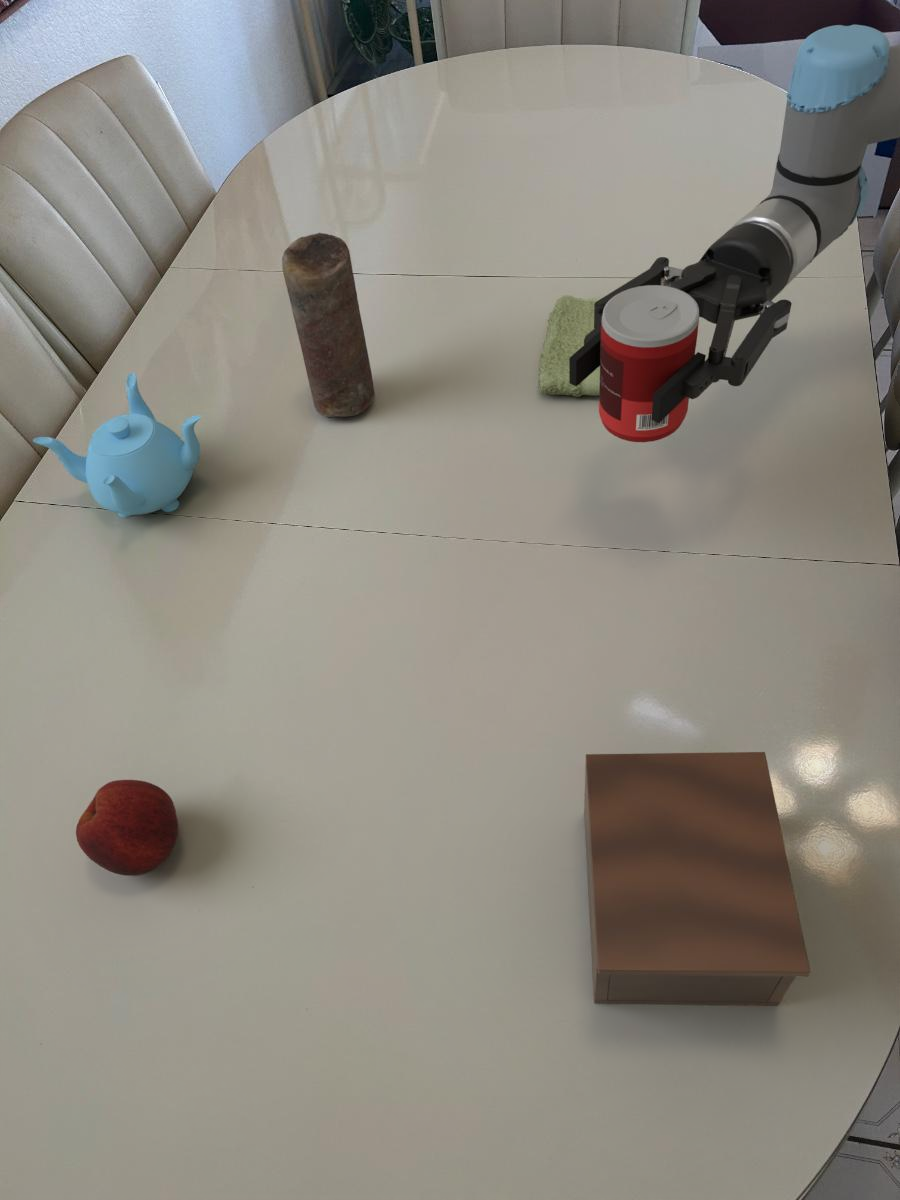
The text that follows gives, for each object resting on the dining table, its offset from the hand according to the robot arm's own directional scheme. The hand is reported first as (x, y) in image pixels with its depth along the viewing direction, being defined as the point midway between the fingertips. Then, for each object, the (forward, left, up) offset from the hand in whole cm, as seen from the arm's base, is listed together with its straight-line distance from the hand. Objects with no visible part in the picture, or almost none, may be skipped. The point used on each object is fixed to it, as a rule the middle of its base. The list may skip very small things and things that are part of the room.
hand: (613, 389), depth 78 cm
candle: (+38, -4, -20) cm, 43 cm away
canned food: (0, -5, -6) cm, 8 cm away
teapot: (+48, +19, -20) cm, 55 cm away
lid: (-23, +29, -11) cm, 38 cm away
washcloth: (+17, -26, -20) cm, 37 cm away
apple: (+16, +48, -20) cm, 55 cm away
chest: (-22, +28, -20) cm, 41 cm away
